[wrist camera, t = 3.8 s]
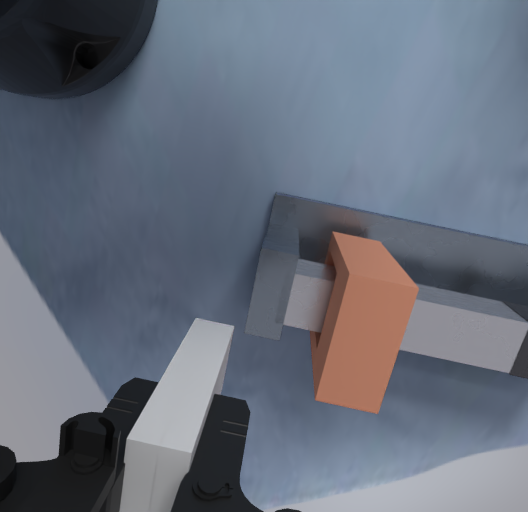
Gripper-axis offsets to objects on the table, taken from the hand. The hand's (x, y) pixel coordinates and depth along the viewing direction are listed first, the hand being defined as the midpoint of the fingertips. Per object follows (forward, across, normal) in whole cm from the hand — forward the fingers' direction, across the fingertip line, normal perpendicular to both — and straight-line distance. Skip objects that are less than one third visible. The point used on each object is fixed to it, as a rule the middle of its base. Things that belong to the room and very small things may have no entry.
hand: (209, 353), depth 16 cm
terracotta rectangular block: (+11, +6, 0) cm, 13 cm away
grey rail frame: (+14, +12, 0) cm, 18 cm away
